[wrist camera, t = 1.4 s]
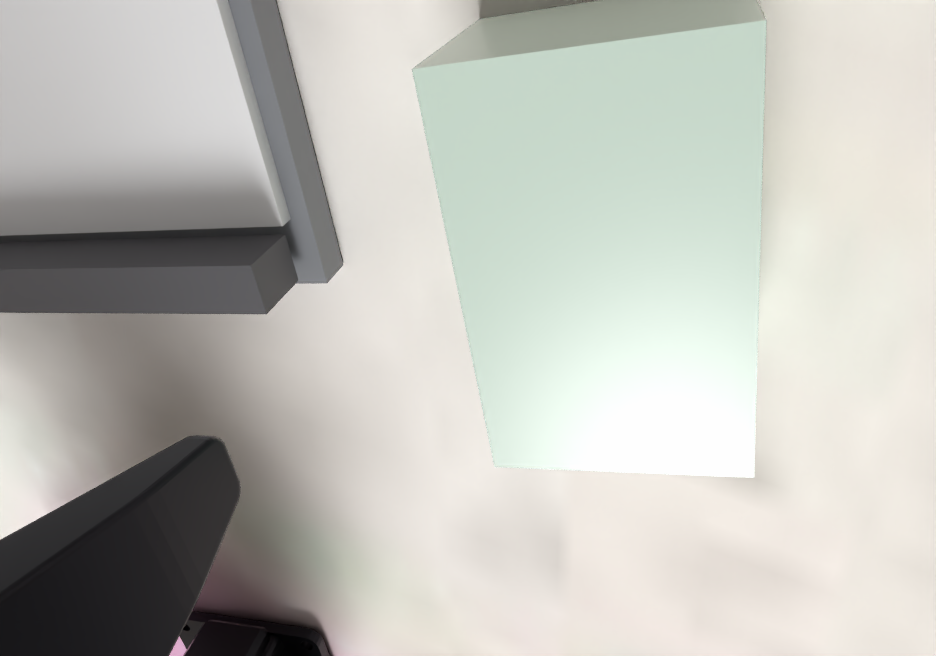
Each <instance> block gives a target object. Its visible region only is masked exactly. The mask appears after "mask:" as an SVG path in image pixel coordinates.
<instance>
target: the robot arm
mask: <svg viewBox="0 0 936 656" xmlns="http://www.w3.org/2000/svg"><path fill="white" fill-rule="evenodd" d="M240 488H241V487H240V481H239V478H238V475H237V473H236V470H235V468H234V465H233V463H232V460H231V458H230V455H229V453H228V450H227V448H226V446H225V444H224V442H223V441H222V440H221V439H220V438H217V437H214V436H199V435H195V436H189V437H187V438H185V439H183V440H181V441H179V442H177V443H176V444H174V445H172V446H170V447H168V448H166V449H165V450H163V451H161V452H159V453H157V454H156V455H154V456H152V457H150V458H148V459H146V460H145V461H143V462H141V463H139V464H137V465H136V466H134V467H132V468H130V469H128V470H126V471H125V472H123V473H121V474H119V475H117V476H116V477H114V478H112V479H110V480H108V481H106V482H105V483H103V484H101V485H99V486H97V487H96V488H94V489H92V490H90V491H88V492H86V493H85V494H83V495H81V496H79V497H77V498H76V499H74V500H72V501H70V502H68V503H66V504H65V505H63V506H61V507H59V508H57V509H56V510H54V511H52V512H50V513H48V514H47V515H45V516H43V517H41V518H39V519H37V520H36V521H34V522H32V523H30V524H28V525H27V526H25V527H23V528H21V529H19V530H17V531H16V532H14V533H12V534H10V535H8V536H7V537H5V538H3V539H1V540H0V656H169V655H170V653H171V651H172V649H173V647H174V645H175V643H176V641H177V639H178V637H179V636H180V638H181V639H182V641H183V643H184V645H185V647H186V649H187V650H186V652H185V653H184V655H183V656H329V653H328V650H327V648H326V645H325V642H324V640H323V638H322V636H321V635H320V634H319V633H318V632H316V631H314V630H312V629H309V628H303V627H296V626H289V625H282V624H276V623H269V622H262V621H255V620H248V619H241V618H235V617H228V616H221V615H214V614H207V613H200V612H194V611H192V610H193V608H194V606H195V604H196V602H197V600H198V598H199V595H200V593H201V591H202V589H203V586H204V584H205V582H206V579H207V577H208V574H209V572H210V569H211V567H212V565H213V562H214V560H215V557H216V555H217V552H218V550H219V547H220V545H221V542H222V540H223V538H224V535H225V533H226V530H227V528H228V525H229V523H230V520H231V518H232V515H233V513H234V511H235V508H236V506H237V503H238V500H239V497H240Z"/></svg>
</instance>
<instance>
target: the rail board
mask: <svg viewBox="0 0 936 656" xmlns="http://www.w3.org/2000/svg"><path fill="white" fill-rule="evenodd" d="M342 266H343V262H342V258H341V254H340V250H339V246H338V242H337V238H336V234H335V230H334V226H333V222H332V219H331V215H330V211H329V207H328V203H327V199H326V195H325V191H324V187H323V183H322V179H321V176H320V172H319V168H318V164H317V160H316V156H315V152H314V148H313V144H312V140H311V136H310V132H309V129H308V125H307V121H306V117H305V113H304V109H303V105H302V101H301V97H300V93H299V89H298V86H297V82H296V78H295V74H294V70H293V66H292V62H291V58H290V54H289V50H288V46H287V43H286V39H285V35H284V31H283V27H282V23H281V19H280V15H279V11H278V7H277V3H276V0H0V312H7V313H171V314H267V313H268V312H269V311H270V310H271V309H272V308H273V307H274V306H275V305H276V304H277V303H278V301H279V300H280V299H281V298H282V297H283V296H284V295H285V294H286V293H287V292H288V291H289V290H290V289H291V288H292V287H293V286H294V285H295V283H328V282H329V281H330V279H331V278H332V277H333V276H334V275H335V274H336V273H337V271H338V270H339V269H340V268H341V267H342Z"/></svg>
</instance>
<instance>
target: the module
mask: <svg viewBox="0 0 936 656" xmlns="http://www.w3.org/2000/svg"><path fill="white" fill-rule="evenodd" d="M765 56H766V18H765V16H764V14H763V12H762V10H761V8H760V5H759V3H758V1H757V0H598V1H591V2H585V3H578V4H572V5H566V6H559V7H553V8H546V9H540V10H534V11H527V12H521V13H514V14H508V15H502V16H495V17H489V18H482V19H479V20H478V21H476V22H475V23H473V24H472V25H471V26H469V27H468V28H467V29H465V30H464V31H463V32H461V33H460V34H459V35H457V36H456V37H455V38H453V39H452V40H450V41H449V42H448V43H446V44H445V45H444V46H442V47H441V48H440V49H438V50H437V51H436V52H434V53H433V54H432V55H430V56H429V57H427V58H426V59H425V60H423V61H422V62H421V63H419V64H418V65H417V66H415V67H414V68H413V69H412V72H413V77H414V82H415V86H416V91H417V96H418V101H419V106H420V110H421V115H422V120H423V125H424V130H425V134H426V139H427V144H428V149H429V154H430V158H431V163H432V168H433V173H434V178H435V182H436V187H437V192H438V197H439V202H440V207H441V211H442V216H443V221H444V226H445V231H446V235H447V240H448V245H449V250H450V255H451V259H452V264H453V269H454V274H455V279H456V283H457V288H458V293H459V298H460V303H461V308H462V312H463V317H464V322H465V327H466V332H467V336H468V341H469V346H470V351H471V356H472V360H473V365H474V370H475V375H476V380H477V384H478V389H479V394H480V399H481V404H482V409H483V413H484V418H485V423H486V428H487V433H488V437H489V442H490V447H491V452H492V457H493V461H494V466H495V467H505V468H529V469H554V470H578V471H602V472H626V473H650V474H674V475H699V476H723V477H747V478H754V466H755V429H756V392H757V355H758V317H759V280H760V243H761V205H762V168H763V131H764V93H765Z"/></svg>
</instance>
